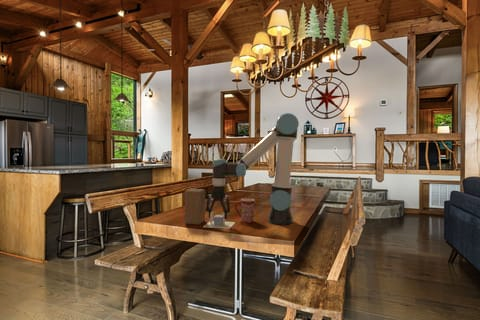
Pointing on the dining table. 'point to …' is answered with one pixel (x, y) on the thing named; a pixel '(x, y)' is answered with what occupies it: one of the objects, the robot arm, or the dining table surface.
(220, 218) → the cube
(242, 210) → the mug
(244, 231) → the dining table surface
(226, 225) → the letter
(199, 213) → the wooden block
